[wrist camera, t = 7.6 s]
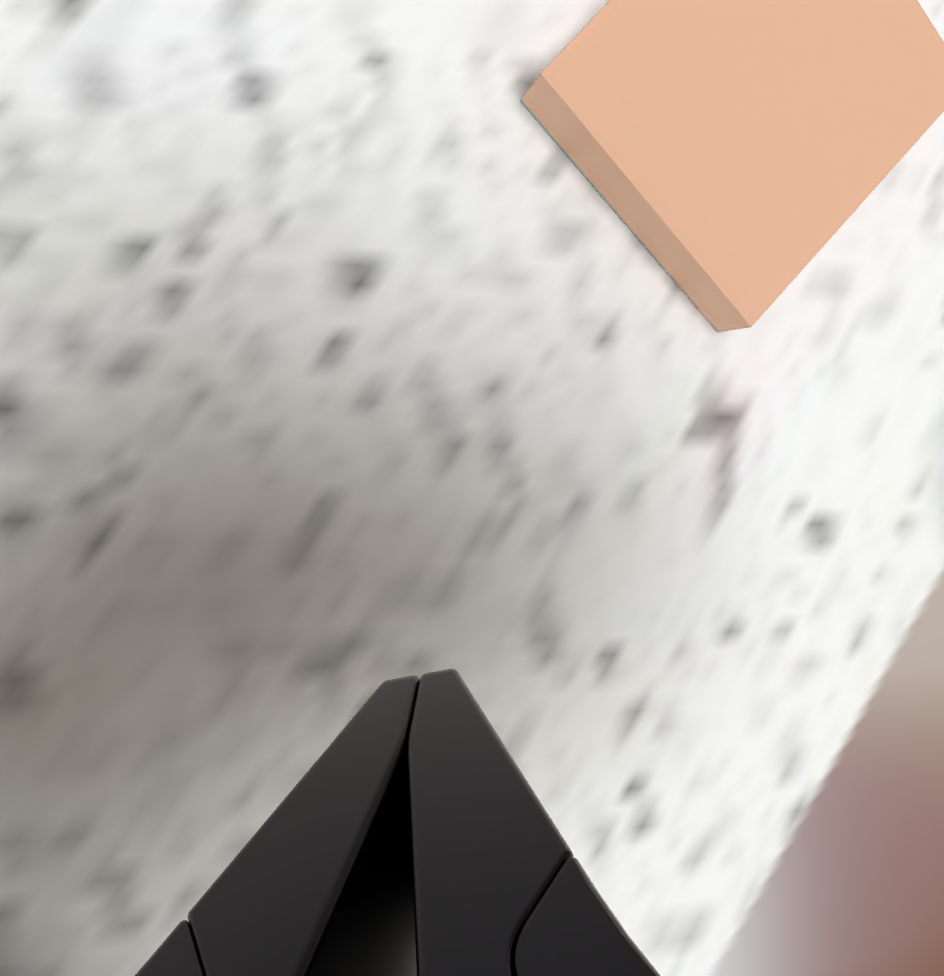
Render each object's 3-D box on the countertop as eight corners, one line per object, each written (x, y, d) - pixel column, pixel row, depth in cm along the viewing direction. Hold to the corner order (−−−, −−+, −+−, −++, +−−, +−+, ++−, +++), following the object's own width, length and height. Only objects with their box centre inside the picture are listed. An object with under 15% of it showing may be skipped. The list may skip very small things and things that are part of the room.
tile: (751, 326, 18) (969, 82, 19) (540, 72, 16) (794, -193, 17) (707, 333, 20) (906, 111, 21) (515, 108, 18) (742, -132, 19)
